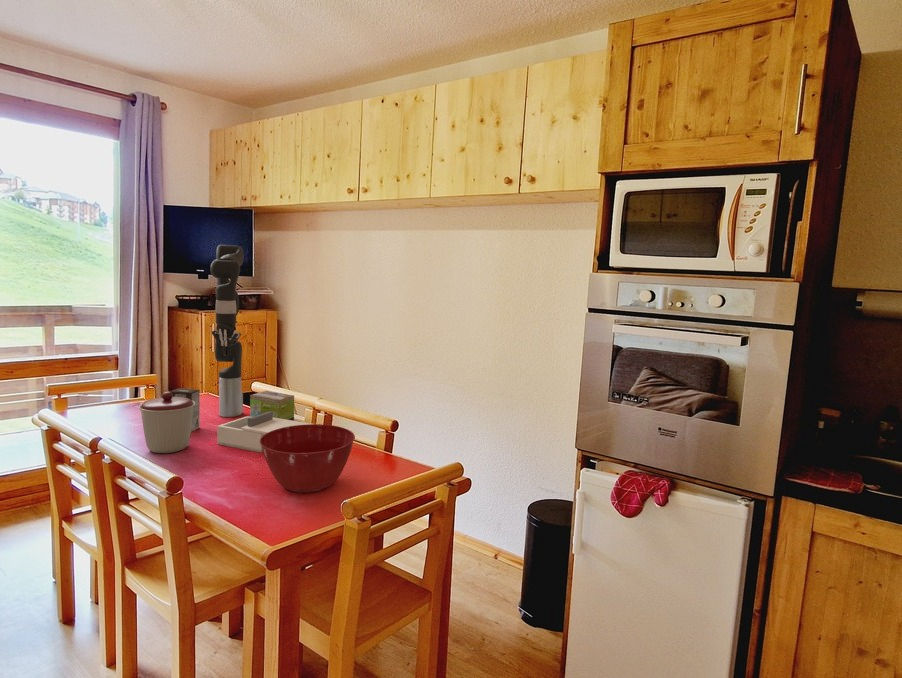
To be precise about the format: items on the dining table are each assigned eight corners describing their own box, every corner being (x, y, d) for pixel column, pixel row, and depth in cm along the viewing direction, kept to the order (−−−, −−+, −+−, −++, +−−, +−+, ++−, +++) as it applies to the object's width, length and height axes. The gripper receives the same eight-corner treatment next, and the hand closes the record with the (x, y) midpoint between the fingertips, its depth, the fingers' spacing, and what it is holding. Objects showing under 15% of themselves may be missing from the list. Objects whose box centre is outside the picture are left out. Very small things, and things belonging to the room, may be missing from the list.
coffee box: (170, 430, 218) (169, 391, 216) (179, 425, 225) (178, 387, 223) (191, 431, 218) (191, 392, 216) (200, 427, 224) (200, 389, 222)
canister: (206, 447, 201) (206, 391, 198) (160, 461, 185) (159, 400, 182) (175, 438, 209) (174, 384, 206) (128, 450, 193) (126, 392, 190)
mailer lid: (241, 429, 199) (241, 419, 199) (271, 419, 215) (271, 409, 214) (288, 438, 192) (288, 427, 192) (315, 426, 207) (315, 416, 207)
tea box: (249, 429, 224) (249, 394, 222) (266, 423, 233) (266, 389, 231) (278, 435, 218) (278, 399, 216) (294, 429, 228) (295, 394, 226)
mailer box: (217, 444, 204) (217, 426, 203) (247, 433, 219) (247, 416, 218) (260, 452, 197) (260, 433, 196) (288, 440, 212) (288, 422, 211)
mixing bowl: (294, 512, 151) (294, 458, 149) (241, 483, 169) (241, 435, 167) (372, 485, 172) (373, 438, 170) (317, 462, 190) (318, 419, 188)
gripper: (246, 312, 215) (246, 355, 217) (219, 309, 219) (220, 352, 222) (232, 313, 208) (233, 358, 210) (205, 311, 212) (206, 355, 215)
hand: (226, 355), depth 216 cm, fingers closed
